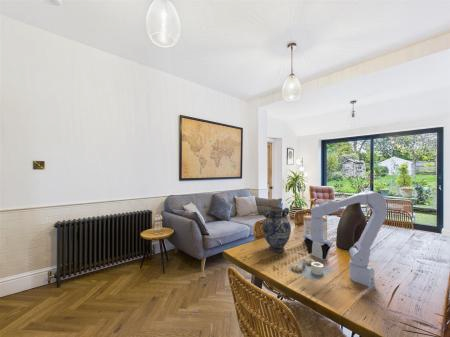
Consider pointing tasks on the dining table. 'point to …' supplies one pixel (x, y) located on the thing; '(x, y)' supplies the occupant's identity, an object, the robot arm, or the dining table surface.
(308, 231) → the coffeecake box
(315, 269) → the octagonal pipe segment
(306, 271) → the gear board
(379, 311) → the dining table surface
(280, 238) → the decorative vase
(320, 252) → the photo printer
